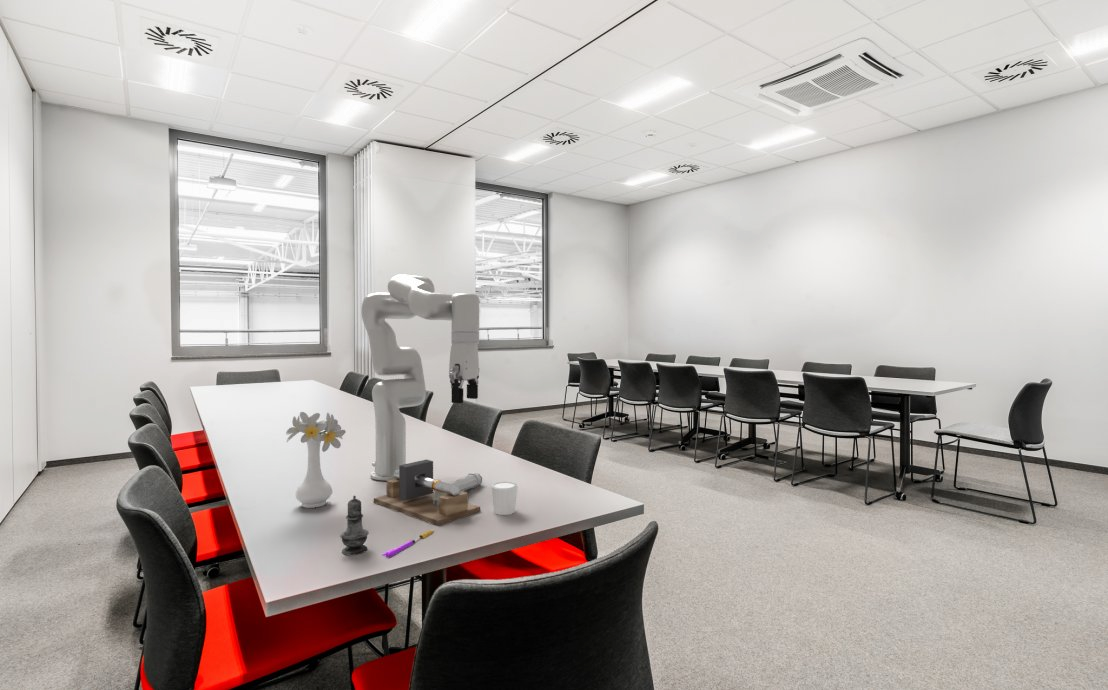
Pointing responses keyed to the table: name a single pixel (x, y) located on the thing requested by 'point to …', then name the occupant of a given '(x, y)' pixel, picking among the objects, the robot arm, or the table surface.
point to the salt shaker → (354, 530)
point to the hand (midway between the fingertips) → (465, 400)
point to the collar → (408, 479)
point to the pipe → (434, 484)
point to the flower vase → (315, 456)
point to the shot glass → (504, 497)
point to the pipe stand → (428, 505)
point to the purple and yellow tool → (405, 545)
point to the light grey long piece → (461, 485)
